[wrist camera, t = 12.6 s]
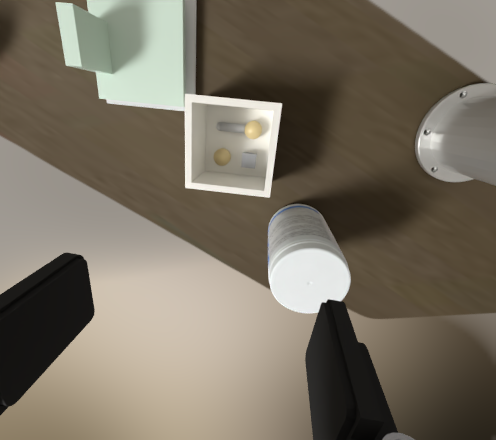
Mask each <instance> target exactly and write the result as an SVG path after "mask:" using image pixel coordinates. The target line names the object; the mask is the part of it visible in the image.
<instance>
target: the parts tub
mask: <svg viewBox="0 0 496 440" xmlns="http://www.w3.org/2000/svg"><path fill="white" fill-rule="evenodd" d="M281 109H282V103H274V102H263V101H253V100H243V99H233V98H223V97H213V96H203V95H193V94H185V188H191V189H200V190H208V191H217V192H226V193H234V194H243V195H252V196H260V197H269V198H270V192H271V184H272V177H273V169H274V161H275V154H276V146H277V139H278V131H279V124H280V116H281Z"/></svg>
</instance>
